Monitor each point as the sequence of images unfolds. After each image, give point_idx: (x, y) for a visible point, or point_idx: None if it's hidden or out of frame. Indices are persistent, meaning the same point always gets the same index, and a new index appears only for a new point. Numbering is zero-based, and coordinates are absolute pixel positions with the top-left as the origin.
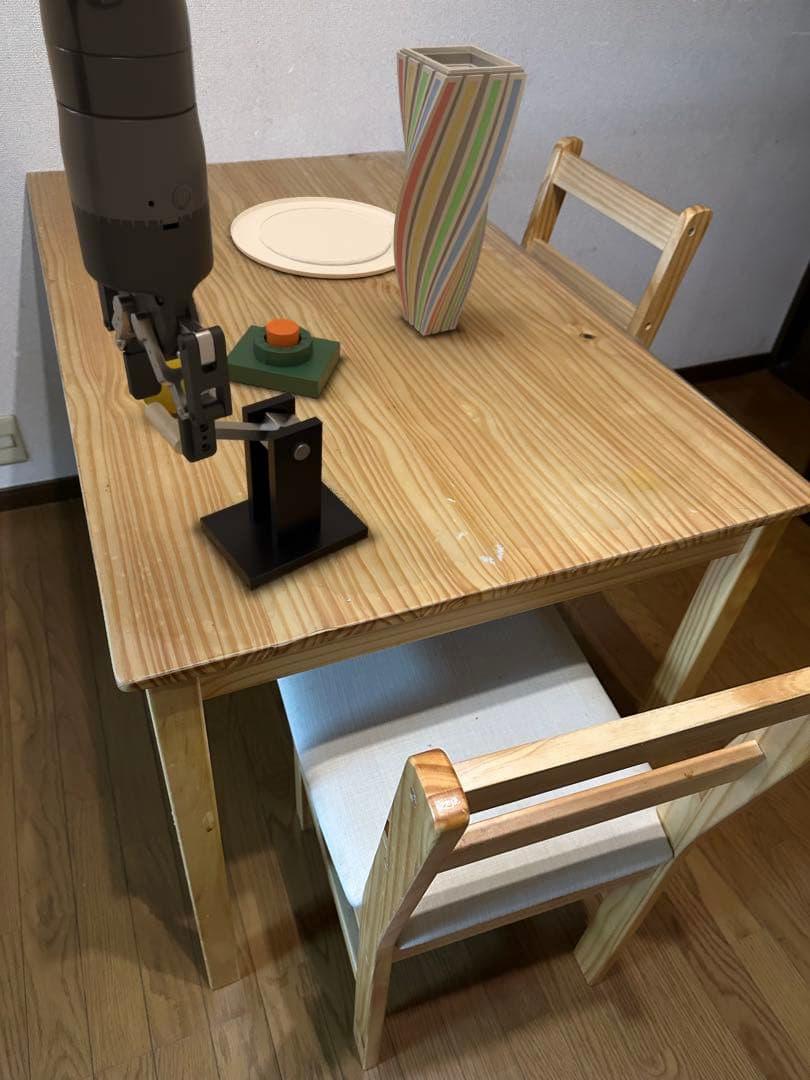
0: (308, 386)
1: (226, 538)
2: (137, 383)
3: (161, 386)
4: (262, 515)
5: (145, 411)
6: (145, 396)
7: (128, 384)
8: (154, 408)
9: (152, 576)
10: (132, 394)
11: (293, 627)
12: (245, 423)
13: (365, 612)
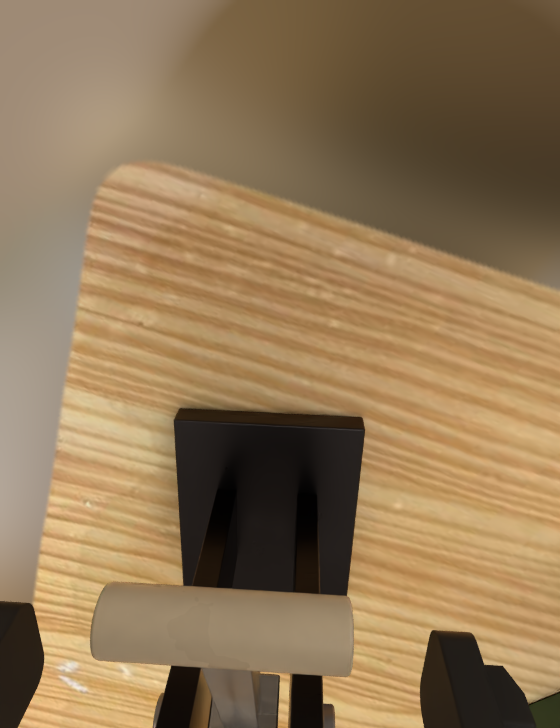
0: (548, 721)
1: (287, 439)
2: (448, 707)
3: (424, 723)
4: (296, 511)
5: (340, 623)
6: (426, 658)
7: (480, 677)
8: (311, 658)
9: (303, 294)
10: (446, 644)
11: (76, 417)
12: (251, 721)
13: (55, 507)
